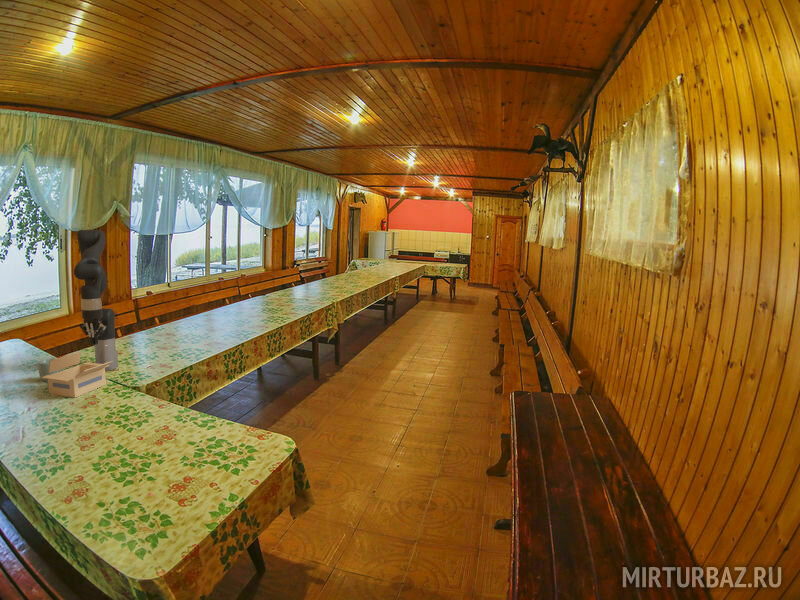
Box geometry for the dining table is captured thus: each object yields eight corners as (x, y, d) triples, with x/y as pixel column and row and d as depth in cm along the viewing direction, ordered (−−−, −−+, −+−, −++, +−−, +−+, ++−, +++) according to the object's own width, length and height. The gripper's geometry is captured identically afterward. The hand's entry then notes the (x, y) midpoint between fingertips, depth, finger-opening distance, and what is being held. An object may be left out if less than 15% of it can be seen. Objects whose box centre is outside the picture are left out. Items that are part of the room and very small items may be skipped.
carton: (87, 379, 208) (86, 361, 206) (111, 383, 205) (110, 365, 204) (42, 396, 186) (40, 377, 184) (68, 400, 184) (66, 380, 182)
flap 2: (75, 376, 186) (75, 377, 186) (84, 370, 184) (84, 371, 184) (104, 366, 200) (104, 367, 200) (112, 360, 199) (112, 361, 199)
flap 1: (79, 363, 202) (78, 362, 202) (80, 351, 201) (80, 351, 201) (49, 372, 188) (48, 372, 188) (50, 360, 187) (49, 360, 187)
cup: (48, 384, 200) (46, 364, 198) (35, 382, 201) (33, 362, 200) (64, 378, 207) (63, 359, 206) (51, 376, 209) (50, 357, 207)
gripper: (111, 307, 189) (113, 344, 193) (86, 305, 192) (89, 340, 195) (96, 310, 182) (99, 348, 185) (71, 307, 184) (74, 345, 187)
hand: (94, 344), depth 190 cm, fingers closed
